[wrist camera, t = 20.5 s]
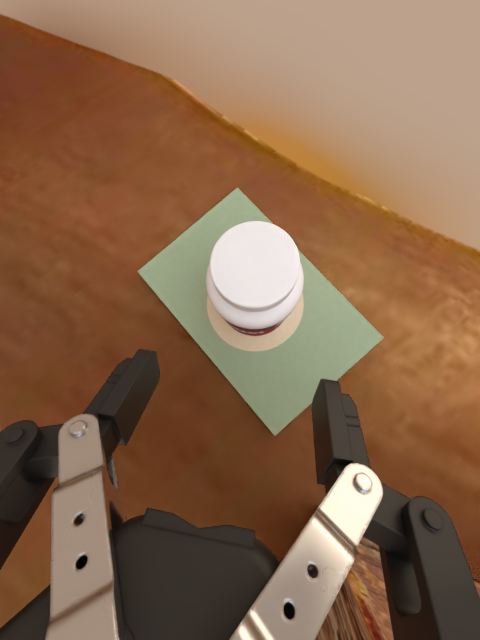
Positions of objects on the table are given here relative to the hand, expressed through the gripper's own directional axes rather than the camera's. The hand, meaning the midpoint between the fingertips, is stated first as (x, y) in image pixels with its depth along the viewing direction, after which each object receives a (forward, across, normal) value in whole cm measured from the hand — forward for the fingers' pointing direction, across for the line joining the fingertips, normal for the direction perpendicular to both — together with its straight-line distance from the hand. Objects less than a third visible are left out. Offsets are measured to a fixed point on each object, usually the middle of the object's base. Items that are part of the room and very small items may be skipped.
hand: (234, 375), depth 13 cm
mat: (+12, 0, +4) cm, 13 cm away
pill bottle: (+12, 0, +4) cm, 12 cm away
